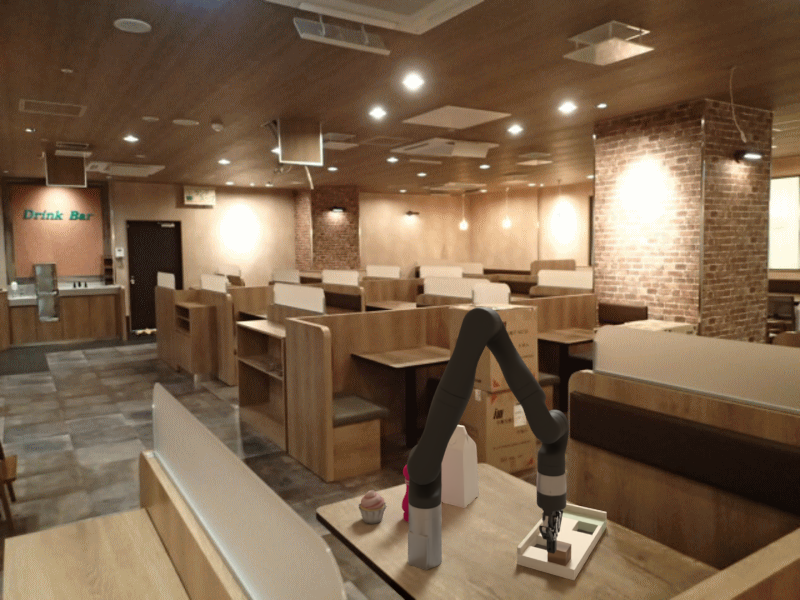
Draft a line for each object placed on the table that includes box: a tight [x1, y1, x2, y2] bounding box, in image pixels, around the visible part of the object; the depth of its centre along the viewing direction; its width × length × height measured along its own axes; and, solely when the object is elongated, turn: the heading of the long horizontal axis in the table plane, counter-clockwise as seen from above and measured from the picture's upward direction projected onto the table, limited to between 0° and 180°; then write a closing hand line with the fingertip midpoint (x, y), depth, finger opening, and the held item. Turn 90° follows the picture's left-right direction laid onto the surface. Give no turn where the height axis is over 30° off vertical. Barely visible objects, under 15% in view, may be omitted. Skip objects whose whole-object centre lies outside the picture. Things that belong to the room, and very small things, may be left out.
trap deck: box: [516, 502, 608, 581], centre depth 183 cm, size 34×16×5 cm, turn 148°
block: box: [547, 540, 571, 566], centre depth 170 cm, size 5×5×4 cm
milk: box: [441, 424, 480, 509], centre depth 215 cm, size 12×12×26 cm
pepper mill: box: [401, 464, 409, 523], centre depth 201 cm, size 7×7×20 cm
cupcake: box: [358, 489, 388, 525], centre depth 201 cm, size 9×9×10 cm
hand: (551, 551), depth 163 cm, fingers closed
